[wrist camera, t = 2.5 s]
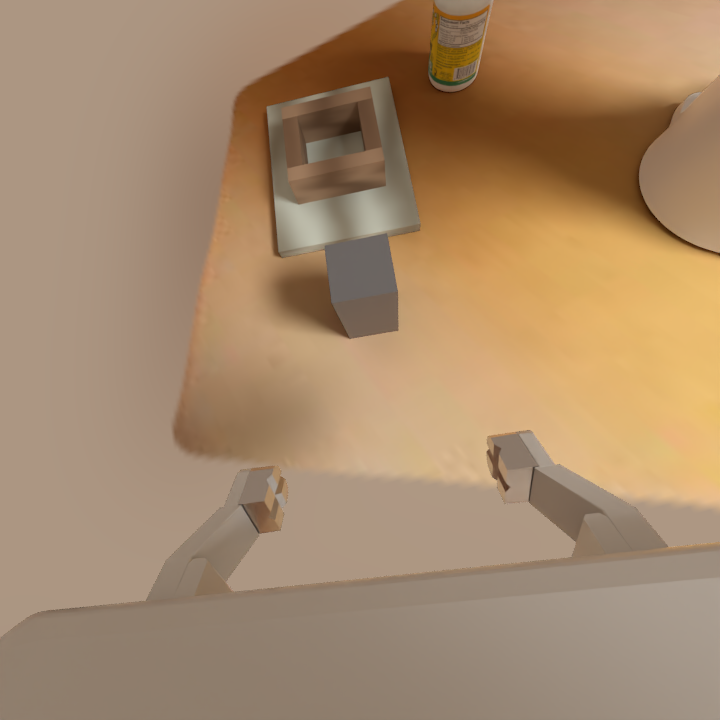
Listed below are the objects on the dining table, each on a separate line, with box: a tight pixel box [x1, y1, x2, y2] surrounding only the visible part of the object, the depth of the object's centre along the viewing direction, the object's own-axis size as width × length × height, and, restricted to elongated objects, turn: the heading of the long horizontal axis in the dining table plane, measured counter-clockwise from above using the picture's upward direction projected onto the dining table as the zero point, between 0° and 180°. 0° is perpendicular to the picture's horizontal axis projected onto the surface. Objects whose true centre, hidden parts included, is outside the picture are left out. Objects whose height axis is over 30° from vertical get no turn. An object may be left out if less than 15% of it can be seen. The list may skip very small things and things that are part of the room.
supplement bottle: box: [428, 0, 493, 92], centre depth 30 cm, size 5×5×10 cm
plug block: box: [325, 233, 398, 339], centre depth 25 cm, size 4×4×8 cm
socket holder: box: [267, 77, 420, 258], centre depth 31 cm, size 14×19×4 cm
